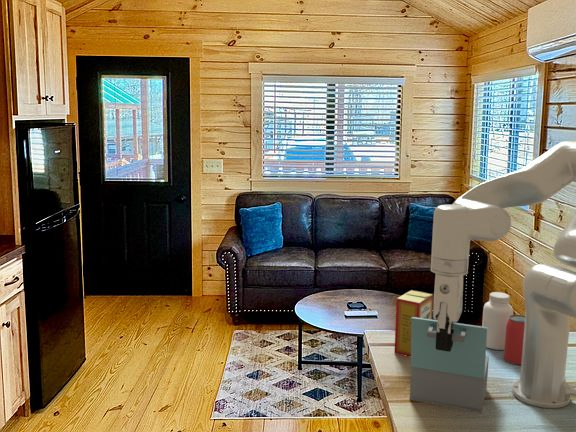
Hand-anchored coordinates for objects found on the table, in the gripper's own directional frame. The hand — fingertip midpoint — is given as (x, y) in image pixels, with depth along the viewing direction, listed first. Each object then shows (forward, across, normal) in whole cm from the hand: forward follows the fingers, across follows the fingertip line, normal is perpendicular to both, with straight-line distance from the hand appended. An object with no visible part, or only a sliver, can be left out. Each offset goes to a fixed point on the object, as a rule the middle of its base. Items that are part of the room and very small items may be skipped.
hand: (444, 347), depth 129 cm
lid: (+2, +5, 0) cm, 5 cm away
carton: (+16, +12, 0) cm, 20 cm away
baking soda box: (+17, +35, +13) cm, 41 cm away
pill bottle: (+16, +48, -8) cm, 51 cm away
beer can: (+16, +39, -14) cm, 45 cm away
